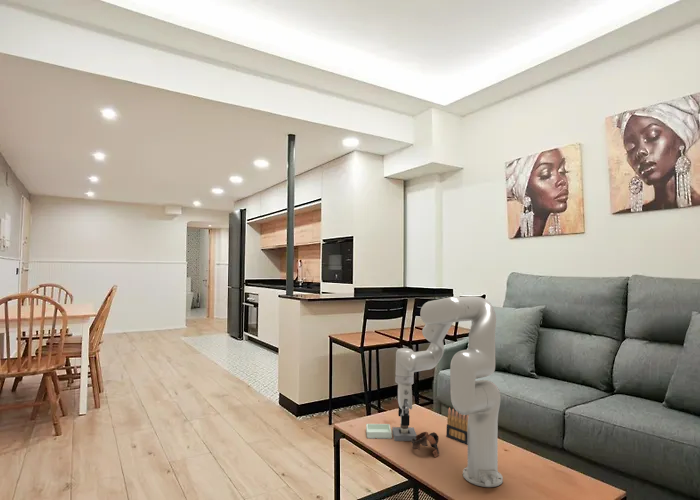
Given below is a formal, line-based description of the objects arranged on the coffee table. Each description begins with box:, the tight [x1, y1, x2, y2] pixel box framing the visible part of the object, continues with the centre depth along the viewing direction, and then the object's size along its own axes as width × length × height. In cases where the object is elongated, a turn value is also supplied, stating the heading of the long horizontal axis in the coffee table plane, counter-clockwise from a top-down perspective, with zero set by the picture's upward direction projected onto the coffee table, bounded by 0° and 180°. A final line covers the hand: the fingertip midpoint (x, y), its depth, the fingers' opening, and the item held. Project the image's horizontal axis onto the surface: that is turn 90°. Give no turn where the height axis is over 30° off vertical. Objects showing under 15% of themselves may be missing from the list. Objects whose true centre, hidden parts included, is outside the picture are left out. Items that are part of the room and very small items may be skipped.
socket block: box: [391, 426, 418, 442], centre depth 168 cm, size 9×9×2 cm
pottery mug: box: [410, 431, 440, 459], centre depth 154 cm, size 12×10×8 cm
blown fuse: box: [399, 413, 409, 434], centre depth 168 cm, size 3×3×9 cm
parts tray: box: [365, 423, 393, 440], centre depth 170 cm, size 9×10×2 cm
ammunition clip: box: [445, 407, 469, 446], centre depth 165 cm, size 11×2×12 cm, turn 40°
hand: (403, 420), depth 168 cm, fingers open, 9 cm apart
